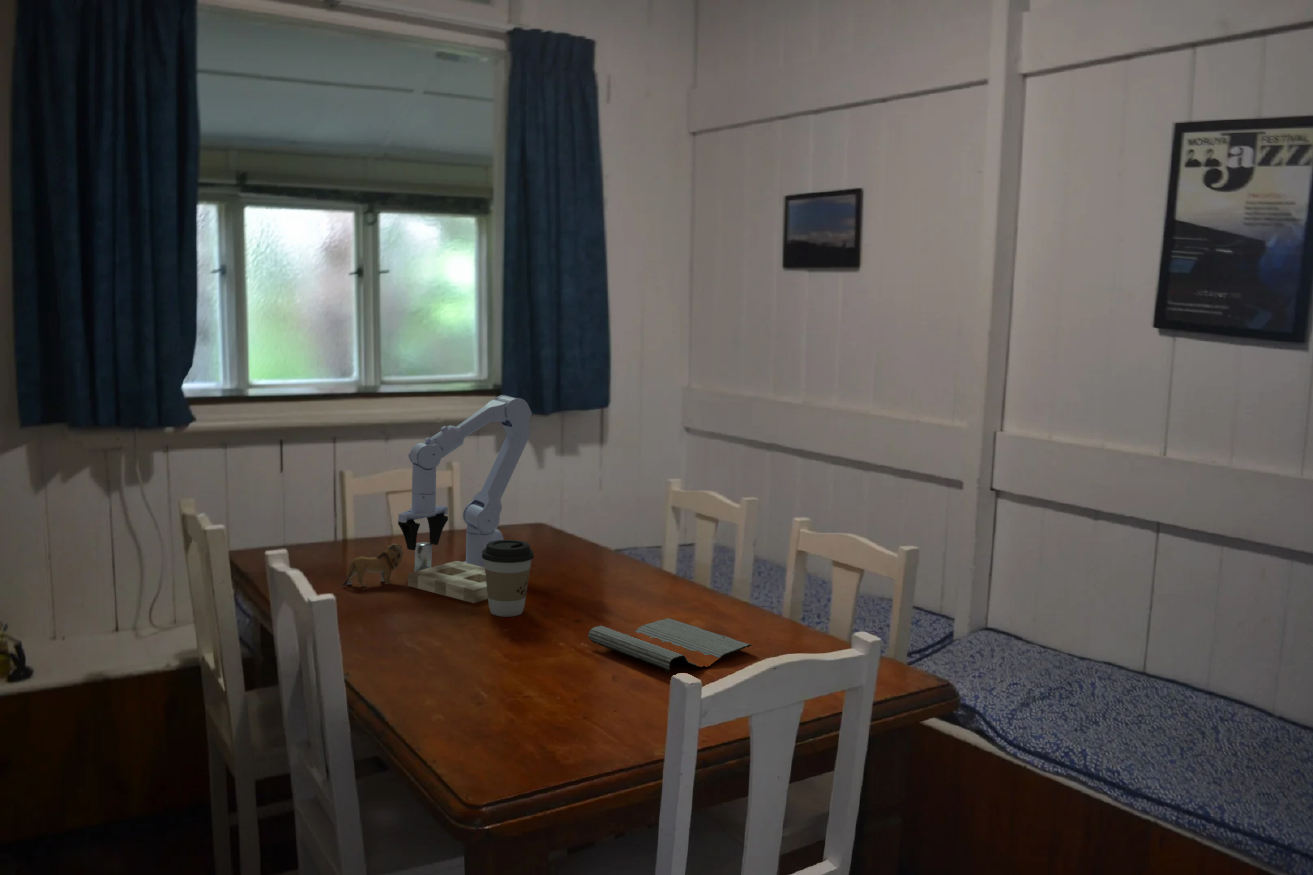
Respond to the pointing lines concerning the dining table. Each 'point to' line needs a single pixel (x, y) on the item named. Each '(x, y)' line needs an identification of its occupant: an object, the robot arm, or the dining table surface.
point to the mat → (666, 632)
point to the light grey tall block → (423, 556)
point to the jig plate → (452, 581)
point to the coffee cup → (507, 575)
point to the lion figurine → (376, 565)
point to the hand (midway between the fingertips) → (422, 546)
